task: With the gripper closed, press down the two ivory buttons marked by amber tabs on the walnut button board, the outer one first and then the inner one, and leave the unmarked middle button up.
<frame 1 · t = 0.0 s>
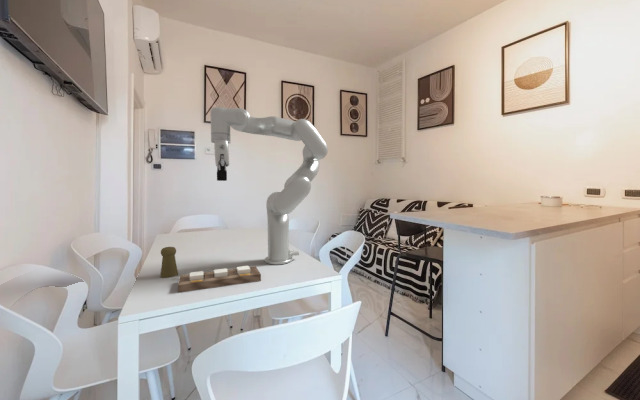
hand: (221, 180, 113), 37 cm above the table, tool pointing down, fingers open, 9 cm apart
outer button: (196, 277, 96), point 3 cm above the table, slide at 0.0 cm
middle button: (220, 274, 99), point 3 cm above the table, slide at 0.0 cm
button board: (221, 281, 99), on the table
cork: (169, 275, 106), on the table
inner button: (243, 271, 102), point 3 cm above the table, slide at 0.0 cm
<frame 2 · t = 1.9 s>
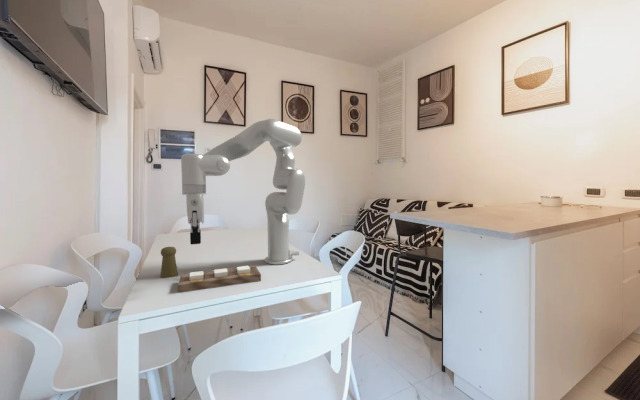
hand: (195, 242, 95), 15 cm above the table, tool pointing down, fingers open, 3 cm apart
nothing on the table moved.
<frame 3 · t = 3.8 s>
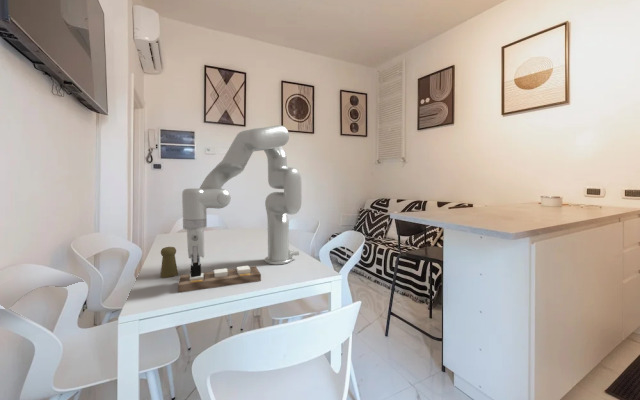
hand: (195, 275, 96), 3 cm above the table, tool pointing down, fingers closed
outer button: (196, 279, 96), point 2 cm above the table, slide at 0.7 cm, touching gripper
everything else where it was.
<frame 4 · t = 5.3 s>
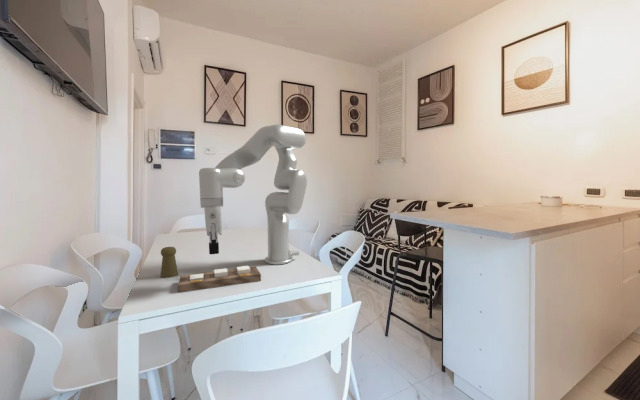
hand: (214, 253, 98), 11 cm above the table, tool pointing down, fingers closed
outer button: (196, 279, 96), point 2 cm above the table, slide at 0.9 cm
everything else where it was.
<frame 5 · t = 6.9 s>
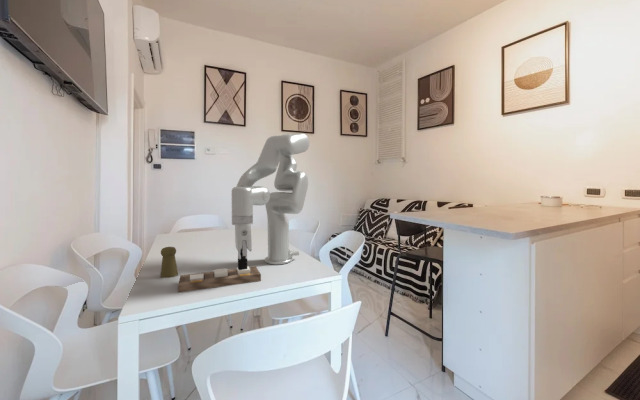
hand: (242, 268, 102), 4 cm above the table, tool pointing down, fingers closed
inner button: (243, 271, 102), point 3 cm above the table, slide at 0.2 cm, touching gripper
everything else where it was.
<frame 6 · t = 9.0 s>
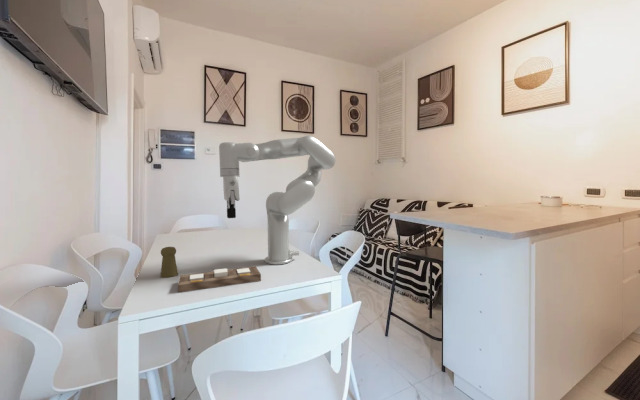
hand: (231, 217, 113), 21 cm above the table, tool pointing down, fingers closed
inner button: (243, 273, 102), point 2 cm above the table, slide at 0.9 cm
everything else where it was.
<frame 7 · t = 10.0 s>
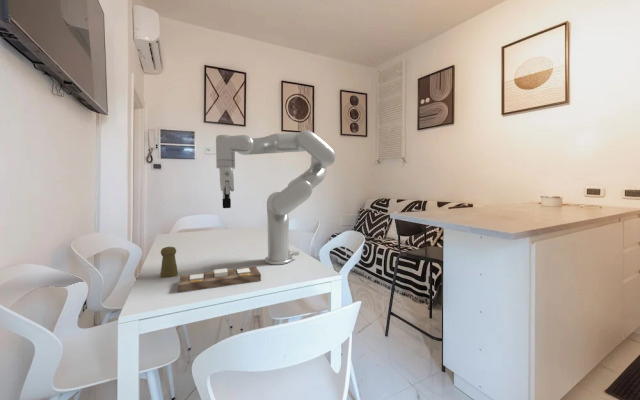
hand: (226, 207, 116), 25 cm above the table, tool pointing down, fingers closed
nothing on the table moved.
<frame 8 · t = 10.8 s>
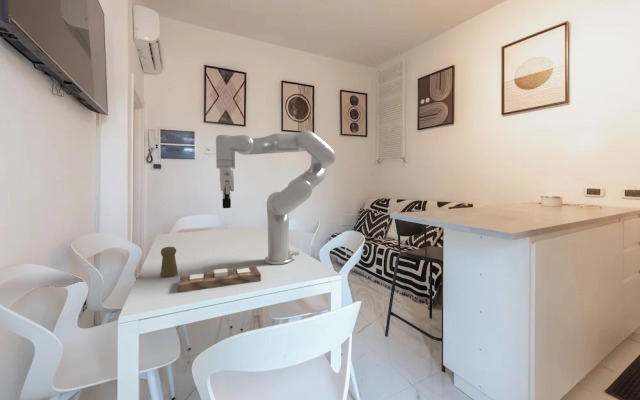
hand: (226, 207, 116), 25 cm above the table, tool pointing down, fingers closed
nothing on the table moved.
at the end: outer button slide at 0.9 cm; inner button slide at 0.9 cm; middle button slide at 0.0 cm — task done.
